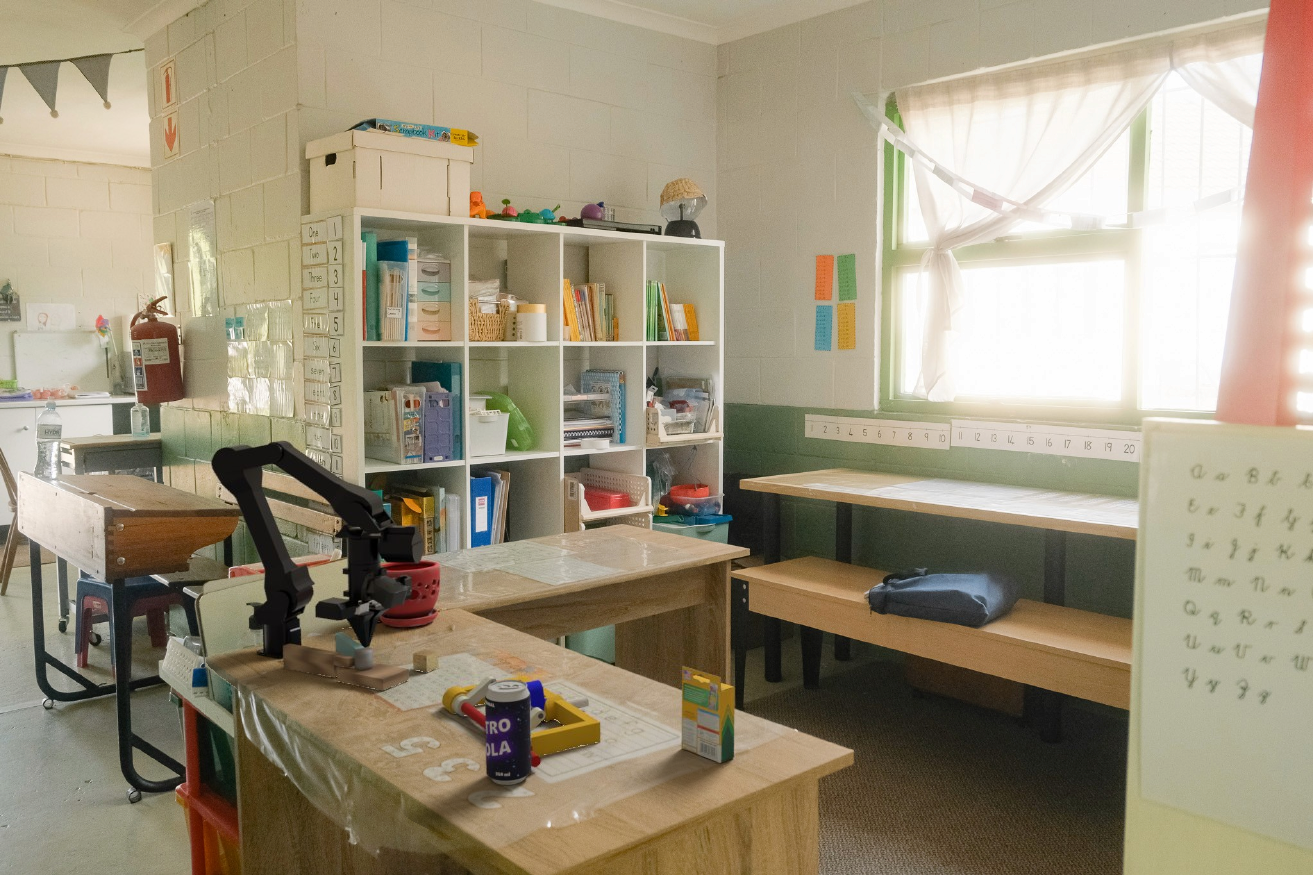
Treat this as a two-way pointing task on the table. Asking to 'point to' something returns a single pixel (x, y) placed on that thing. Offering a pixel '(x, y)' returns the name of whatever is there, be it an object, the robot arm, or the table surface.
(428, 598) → the plant pot
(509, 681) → the beverage can
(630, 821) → the table surface
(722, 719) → the crayon box
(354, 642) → the bar
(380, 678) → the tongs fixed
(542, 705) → the mechanical clamp
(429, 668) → the block
